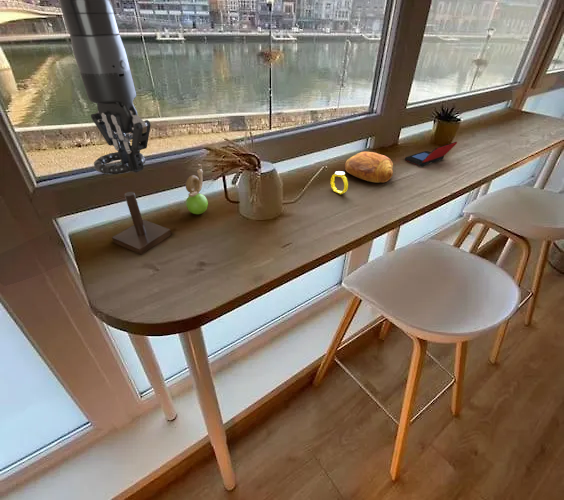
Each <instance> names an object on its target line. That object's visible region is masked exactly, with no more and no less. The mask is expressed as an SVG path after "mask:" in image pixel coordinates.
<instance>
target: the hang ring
mask: <svg viewBox="0 0 564 500" xmlns="http://www.w3.org/2000/svg"><path fill="white" fill-rule="evenodd" d="M140 155H141V159H142V163H143V165H144V164H146V158H145V156H144V155H143V153H141V152H140ZM117 161H121V159H120V156H119V153H118V151H115V152H110V153H107V154H104V155H101V156H99V157H98V158H97V159H95V161H94V162H93V166H94V169H95V171H96V172H99V173H101V174H103V175H120V174H126V173H131V172H133V171H132V170H131V167H130V163H126V164H122V163H121V164H115V165H113V164H110V163H114V162H117Z"/></svg>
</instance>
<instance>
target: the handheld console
mask: <svg viewBox="0 0 564 500" xmlns="http://www.w3.org/2000/svg"><path fill="white" fill-rule="evenodd" d="M457 144H458V141H454V142H451V143H447V144H444V145H441V146H438V147H435V148H434V149H433V150H432V151H430V150H424V151H420V152H417V153H413V154H410V155H408V156H406V157H405V158H404V160H405V162H408V163H411V164H413V165H416V166H418V167H425V166H427V165H431V164H432V163H436V162H438V161H439V162H440V161H442V160H444V159H445V158H444V157H445V156H446V155H447V154H448V153H449V152H450V151H451V150H452V149H453V148H454V147H455V146H456V145H457Z"/></svg>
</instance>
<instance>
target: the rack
mask: <svg viewBox="0 0 564 500" xmlns="http://www.w3.org/2000/svg"><path fill="white" fill-rule="evenodd" d="M124 198H125V201H126V204H127V207H128V211H129V214H130V217H131V220H132V224H133V225H131V226H129V227H128V228H126V229H124V230H122V231H121V232H118V233H117V234H115V235H114V236H112V237H111V239H112V242H113V243H114V244H116V245H117V246H120V247H122V248H125V249H127V250H129V251H131V252H134V253H136V254H139V255H143V254H144V253H146V252H147V251H149V250H151V249H152V248H154V247H155V246H157V245H158V244H160V243H162V242H163V241H165V240H166V239H167V238H169V237H170V236H172V231H171V228H168V227H165V226H162V225H159V224H157V223H154V222H152V221H150V220H149V221H148V220H147V219H143V217H142V214H141V211H140V207H139V204H138V200H137V197H136V194H135V192H134V191H127V192H125V193H124Z"/></svg>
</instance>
